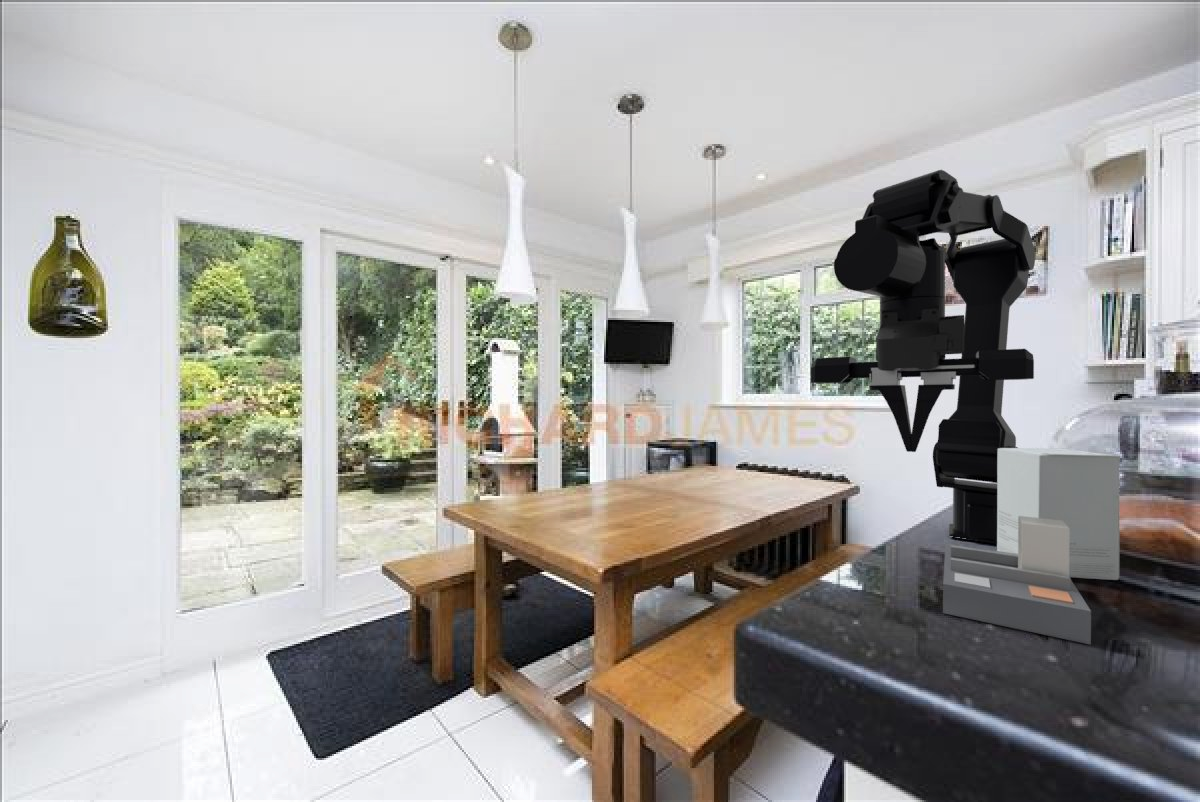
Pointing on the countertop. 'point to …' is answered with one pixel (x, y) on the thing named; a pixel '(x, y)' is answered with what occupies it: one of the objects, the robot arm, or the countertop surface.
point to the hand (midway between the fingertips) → (911, 451)
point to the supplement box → (1063, 503)
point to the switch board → (1012, 594)
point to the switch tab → (1043, 545)
